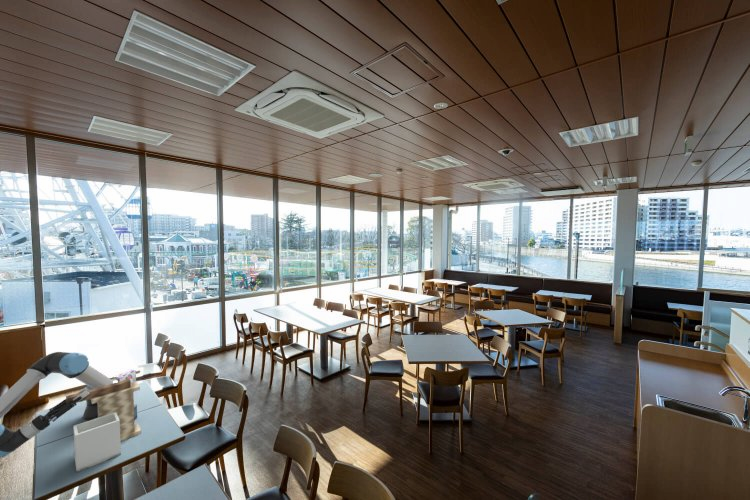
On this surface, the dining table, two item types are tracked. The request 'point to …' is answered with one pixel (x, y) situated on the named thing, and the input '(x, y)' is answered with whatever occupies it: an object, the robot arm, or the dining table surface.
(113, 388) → the walnut block
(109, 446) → the white open box
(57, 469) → the dining table surface
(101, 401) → the birch pedestal
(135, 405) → the flask
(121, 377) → the candy box
